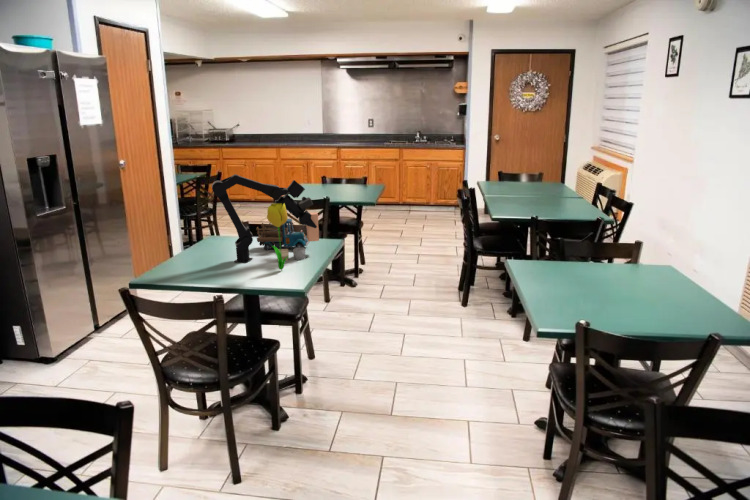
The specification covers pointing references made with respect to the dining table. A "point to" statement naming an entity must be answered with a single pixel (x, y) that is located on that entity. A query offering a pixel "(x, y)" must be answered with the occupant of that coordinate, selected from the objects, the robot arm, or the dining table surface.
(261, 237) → the toy truck
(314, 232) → the peach block
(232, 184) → the robot arm
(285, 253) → the beech cube
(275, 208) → the flower
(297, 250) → the grey domed cylinder
